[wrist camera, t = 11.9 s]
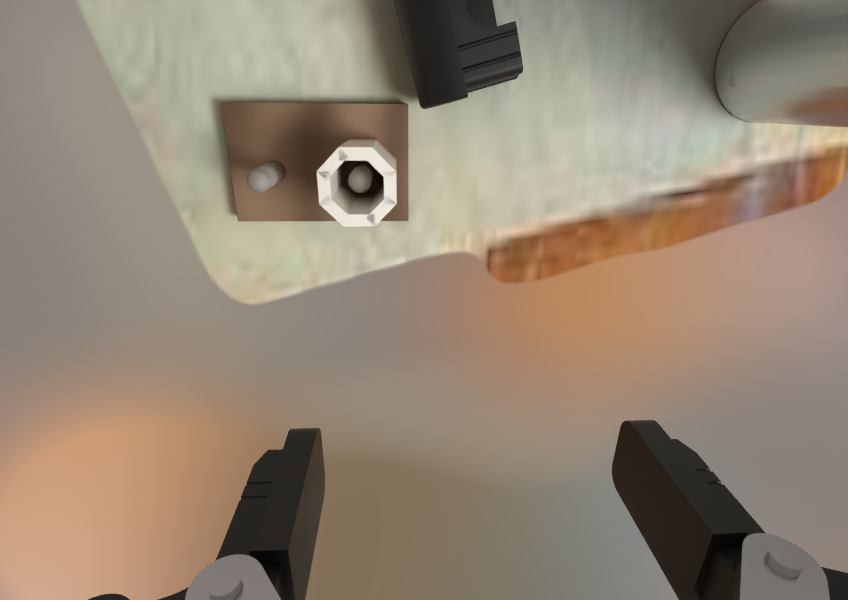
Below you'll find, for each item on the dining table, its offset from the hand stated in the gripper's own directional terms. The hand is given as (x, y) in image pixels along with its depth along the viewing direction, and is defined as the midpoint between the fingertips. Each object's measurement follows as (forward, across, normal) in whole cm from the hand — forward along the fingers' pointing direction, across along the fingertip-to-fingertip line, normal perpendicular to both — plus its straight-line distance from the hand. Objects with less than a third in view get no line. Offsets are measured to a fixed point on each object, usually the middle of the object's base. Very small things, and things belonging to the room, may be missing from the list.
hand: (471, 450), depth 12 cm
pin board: (+30, +8, -4) cm, 31 cm away
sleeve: (+29, +4, -4) cm, 29 cm away
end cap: (+30, -2, -14) cm, 33 cm away
